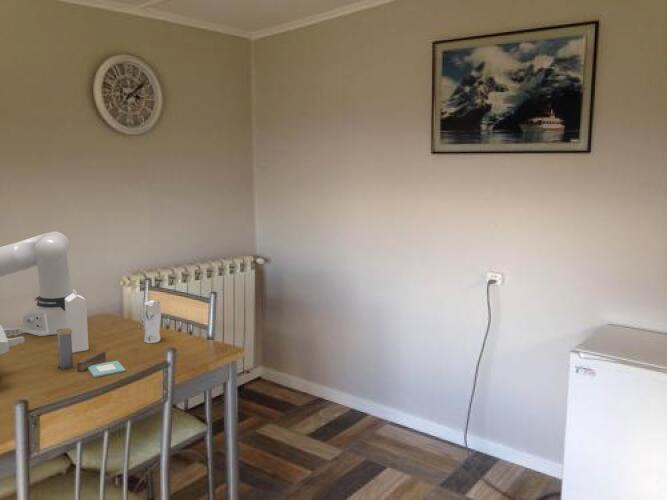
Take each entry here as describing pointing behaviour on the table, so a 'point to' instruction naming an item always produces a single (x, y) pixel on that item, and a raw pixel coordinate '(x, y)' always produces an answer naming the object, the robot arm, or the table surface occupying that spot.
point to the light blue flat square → (106, 369)
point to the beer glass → (151, 321)
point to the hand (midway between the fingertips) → (22, 335)
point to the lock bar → (65, 348)
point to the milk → (77, 321)
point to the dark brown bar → (91, 361)
